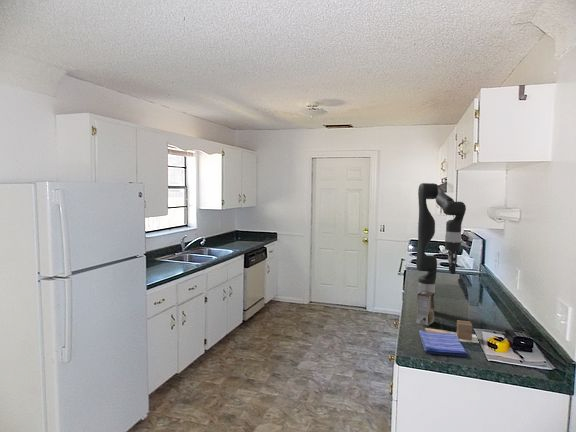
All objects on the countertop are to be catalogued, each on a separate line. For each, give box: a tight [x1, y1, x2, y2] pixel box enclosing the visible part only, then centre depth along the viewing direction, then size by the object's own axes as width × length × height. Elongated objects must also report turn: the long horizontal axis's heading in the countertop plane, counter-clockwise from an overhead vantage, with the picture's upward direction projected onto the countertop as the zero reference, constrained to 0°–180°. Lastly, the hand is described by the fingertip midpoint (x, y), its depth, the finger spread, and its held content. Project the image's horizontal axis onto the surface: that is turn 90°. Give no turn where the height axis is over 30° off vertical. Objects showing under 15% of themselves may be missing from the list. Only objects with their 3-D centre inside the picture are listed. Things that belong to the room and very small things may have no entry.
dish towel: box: [418, 329, 469, 357], centre depth 175 cm, size 17×24×3 cm
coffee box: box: [416, 291, 436, 327], centre depth 207 cm, size 9×6×16 cm
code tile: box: [449, 331, 480, 344], centre depth 186 cm, size 12×12×1 cm
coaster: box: [424, 327, 450, 334], centre depth 191 cm, size 10×11×1 cm
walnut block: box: [456, 319, 473, 340], centre depth 186 cm, size 6×6×7 cm
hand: (452, 272), depth 197 cm, fingers open, 8 cm apart
